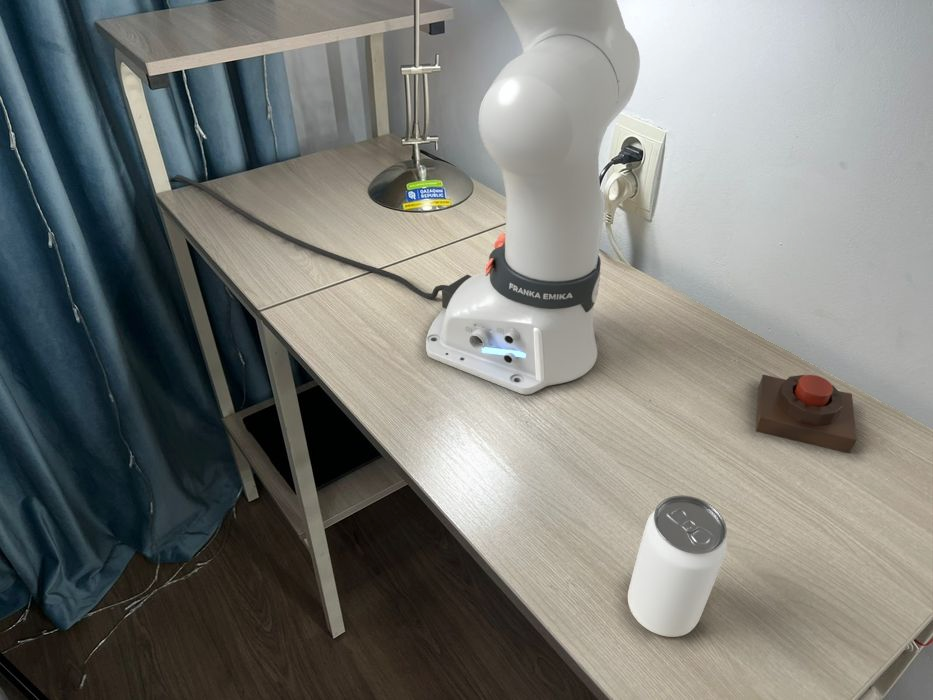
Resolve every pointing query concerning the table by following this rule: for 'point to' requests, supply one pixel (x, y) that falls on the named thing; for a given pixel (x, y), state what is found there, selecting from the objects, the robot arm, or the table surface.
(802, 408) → the button block
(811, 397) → the trigger button
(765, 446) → the table surface
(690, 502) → the can
